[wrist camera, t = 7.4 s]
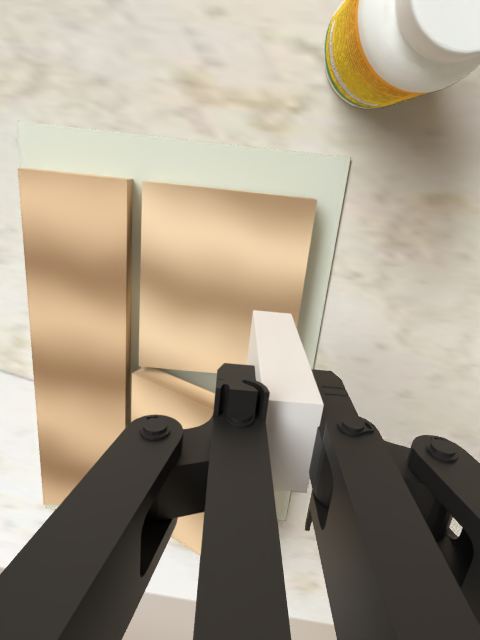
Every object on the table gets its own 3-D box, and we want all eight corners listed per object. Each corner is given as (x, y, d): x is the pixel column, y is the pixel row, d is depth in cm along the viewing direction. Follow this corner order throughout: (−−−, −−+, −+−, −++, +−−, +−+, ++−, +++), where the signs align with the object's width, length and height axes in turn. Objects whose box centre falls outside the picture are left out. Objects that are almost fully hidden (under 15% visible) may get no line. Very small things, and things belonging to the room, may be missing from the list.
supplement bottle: (369, -41, 20) (486, -204, 11) (448, 38, 21) (611, -52, 12) (298, 65, 21) (351, -4, 12) (376, 133, 23) (475, 115, 14)
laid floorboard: (29, 168, 23) (17, 168, 21) (132, 178, 23) (127, 179, 22) (51, 489, 30) (43, 504, 29) (128, 493, 30) (124, 508, 29)
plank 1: (148, 365, 27) (131, 372, 25) (275, 419, 22) (262, 431, 21) (144, 497, 30) (129, 509, 29) (252, 565, 26) (240, 582, 25)
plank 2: (147, 180, 23) (142, 181, 22) (313, 197, 23) (317, 200, 22) (143, 356, 27) (138, 366, 25) (286, 369, 27) (288, 380, 26)
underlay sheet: (18, 121, 22) (16, 120, 22) (349, 157, 23) (350, 157, 23) (46, 506, 31) (45, 508, 31) (285, 518, 32) (285, 520, 32)
